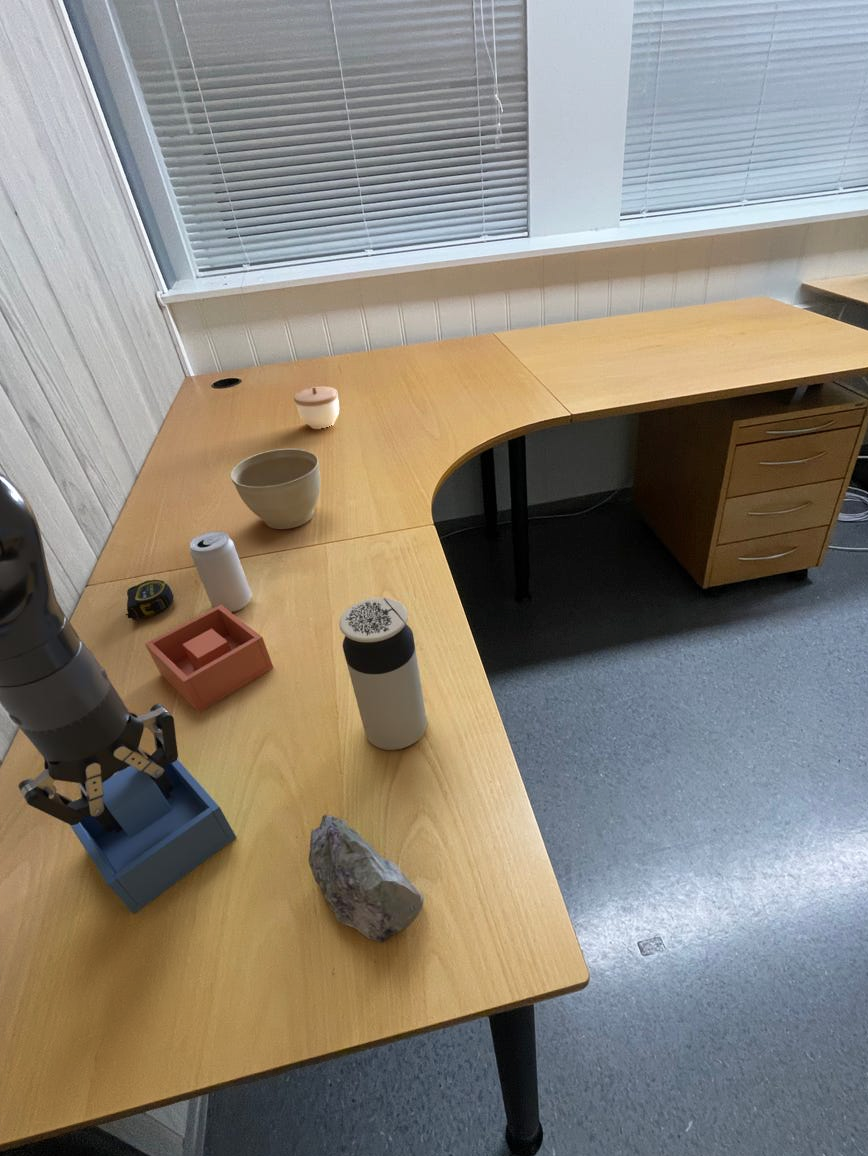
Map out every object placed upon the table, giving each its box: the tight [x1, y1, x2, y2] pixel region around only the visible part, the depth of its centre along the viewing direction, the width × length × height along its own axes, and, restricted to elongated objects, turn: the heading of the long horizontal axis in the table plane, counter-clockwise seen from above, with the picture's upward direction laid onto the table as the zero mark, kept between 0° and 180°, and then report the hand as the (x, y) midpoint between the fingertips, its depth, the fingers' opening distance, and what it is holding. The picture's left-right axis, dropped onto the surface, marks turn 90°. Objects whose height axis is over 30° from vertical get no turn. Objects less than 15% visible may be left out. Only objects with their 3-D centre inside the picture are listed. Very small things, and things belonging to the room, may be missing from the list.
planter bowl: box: [230, 448, 321, 530], centre depth 119 cm, size 16×16×11 cm
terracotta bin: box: [144, 605, 274, 713], centre depth 88 cm, size 12×12×6 cm
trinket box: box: [293, 386, 340, 430], centre depth 156 cm, size 11×11×9 cm
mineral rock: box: [308, 814, 424, 943], centre depth 60 cm, size 13×11×10 cm
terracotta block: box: [182, 629, 231, 670], centre depth 88 cm, size 4×4×4 cm
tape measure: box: [125, 579, 175, 621], centre depth 101 cm, size 7×7×4 cm
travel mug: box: [338, 597, 428, 751], centre depth 74 cm, size 8×8×18 cm
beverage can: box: [189, 531, 253, 613], centre depth 98 cm, size 6×6×12 cm
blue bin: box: [69, 758, 237, 915], centre depth 67 cm, size 12×12×6 cm
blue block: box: [102, 765, 172, 839], centre depth 63 cm, size 4×4×4 cm
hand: (141, 809), depth 65 cm, fingers closed on blue block, 4 cm apart
